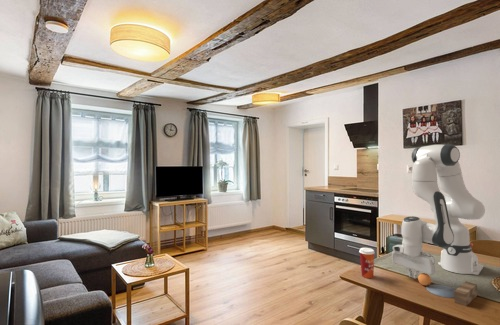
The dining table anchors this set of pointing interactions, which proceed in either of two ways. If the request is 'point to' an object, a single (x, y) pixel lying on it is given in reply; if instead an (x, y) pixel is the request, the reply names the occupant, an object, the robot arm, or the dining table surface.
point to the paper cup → (367, 262)
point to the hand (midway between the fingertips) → (413, 277)
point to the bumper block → (465, 293)
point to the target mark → (441, 290)
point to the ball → (424, 279)
